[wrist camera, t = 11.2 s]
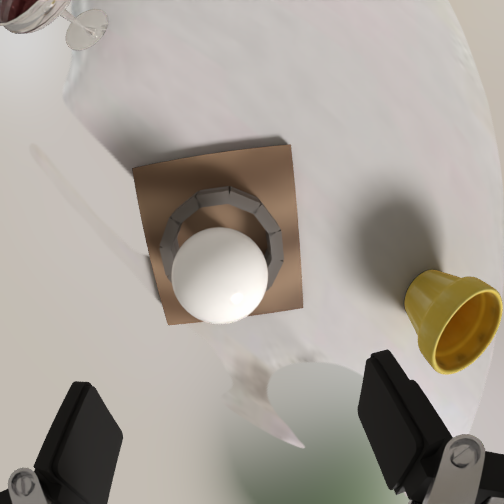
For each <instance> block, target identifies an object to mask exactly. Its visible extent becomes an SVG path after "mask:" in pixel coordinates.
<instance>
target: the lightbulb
mask: <svg viewBox="0 0 504 504" xmlns="http://www.w3.org/2000/svg"><path fill="white" fill-rule="evenodd" d="M171 280H172V286H173V290H174V293H175V295H176V298H177V299H178V301H179V303H180V304H181V305H182V307H183V308H184V309H185V310H186V311H187V312H188V313H189V314H191V315H192V316H194V317H195V318H197V319H199V320H201V321H204V322H207V323H211V324H229V323H233V322H236V321H239V320H241V319H243V318H245V317H246V316H248V315H249V314H250V313H252V312H253V311H254V310H255V309H256V307H257V306H258V305H259V304H260V302H261V300H262V299H263V297H264V294H265V292H266V288H267V284H268V268H267V263H266V260H265V257H264V255H263V253H262V251H261V250H260V248H259V247H258V245H257V244H256V243H255V242H254V241H253V240H252V239H251V238H249V237H248V236H247V235H245V234H243V233H242V232H240V231H237V230H234V229H231V228H225V227H214V228H208V229H205V230H202V231H200V232H197V233H196V234H194V235H192V236H191V237H190V238H188V239H187V240H186V241H185V242H184V243H183V244H182V246H181V247H180V248H179V250H178V252H177V254H176V256H175V258H174V261H173V265H172V271H171Z"/></svg>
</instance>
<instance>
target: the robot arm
mask: <svg viewBox="0 0 504 504" xmlns="http://www.w3.org/2000/svg"><path fill="white" fill-rule="evenodd" d="M358 416H359V418H360V421H361V423H362V425H363V428H364V430H365V432H366V435H367V437H368V440H369V442H370V444H371V447H372V449H373V451H374V454H375V456H376V459H377V461H378V464H379V466H380V469H381V471H382V474H383V476H384V479H385V481H386V484H387V486H388V488H389V489H390V490H393V489H394V491H395V493H396V495H397V494H400V493H402V492H405V491H406V493H407V496H408V498H409V499H410V501H409V503H408V504H504V454H498V453H492V452H487V451H485V448H484V445H483V444H482V442H481V441H480V440H479V439H478V438H476V437H475V436H472V435H469V434H462V435H458V436H456V437H454V438H453V437H452V436H451V434H450V433H449V431H448V429H447V428H446V426H445V425H444V423H443V421H442V420H441V418H440V417H439V415H438V414H437V412H436V411H435V409H434V407H433V406H432V404H431V403H430V401H429V400H428V398H427V397H426V395H425V394H424V392H423V391H422V389H421V388H420V386H419V385H418V384H417V383H416V381H414V380H409V378H408V377H407V375H406V374H405V372H404V371H403V369H402V368H401V366H400V365H399V363H398V362H397V361H396V359H395V358H394V356H393V355H392V353H391V352H390V351H389V350H384V351H380V352H376V353H372V354H371V357H370V358H369V359H367V360H366V365H365V372H364V378H363V383H362V389H361V395H360V400H359V405H358ZM122 440H123V434H122V431H121V429H120V428H119V426H118V425H117V423H116V422H115V420H114V419H113V417H112V415H111V414H110V412H109V410H108V409H107V407H106V405H105V404H104V402H103V400H102V399H101V397H100V395H99V394H98V392H97V390H96V388H95V387H93V386H92V385H91V384H90V383H89V382H77V381H76V382H73V383H72V385H71V387H70V389H69V391H68V393H67V395H66V397H65V399H64V401H63V403H62V405H61V407H60V409H59V411H58V413H57V415H56V417H55V419H54V421H53V423H52V425H51V428H50V430H49V432H48V434H47V436H46V439H45V441H44V443H43V445H42V448H41V450H40V452H39V455H38V457H37V459H36V462H35V464H34V468H35V471H34V472H33V471H32V470H31V469H28V468H20V469H17V470H16V471H14V472H13V473H12V474H11V476H10V478H9V481H8V489H7V490H4V491H2V492H0V504H107V502H108V497H109V492H110V489H111V484H112V480H113V476H114V471H115V468H116V463H117V459H118V456H119V452H120V447H121V444H122Z"/></svg>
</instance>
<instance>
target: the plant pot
mask: <svg viewBox="0 0 504 504" xmlns="http://www.w3.org/2000/svg"><path fill="white" fill-rule="evenodd" d="M404 305H405V310H406V312H407V315H408V317H409V319H410V321H411V323H412V325H413V327H414V329H415V331H416V333H417V335H418V346H419V349H420V351H421V353H422V354H423V356H424V357H425V359H426V360H427V361H428V363H429V364H430V365H431V366H432V367H433V369H434V370H435V371H437V372H438V373H440V374H453V373H456V372H459V371H461V370H463V369H464V368H466V367H468V366H469V365H470V364H472V363H473V362H474V361H475V360H476V359H477V358H478V357H479V356H480V355H481V354H482V353H483V352H484V351H485V349H486V348H487V347H488V345H489V344H490V343H491V341H492V339H493V337H494V336H495V334H496V332H497V329H498V327H499V324H500V321H501V316H502V299H501V296H500V294H499V293H498V291H497V290H496V289H494V288H493V287H491V286H490V285H488V284H487V283H485V282H483V281H481V280H480V279H478V278H475V277H463V278H460V277H457V276H453V275H450V274H447V273H444V272H441V271H437V270H427V271H425V272H423V273H421V274H420V275H419V276H417V277H416V278H415V279H414V281H413V282H412V283H411V285H410V286H409V288H408V290H407V293H406V296H405V302H404Z"/></svg>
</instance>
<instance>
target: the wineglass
mask: <svg viewBox="0 0 504 504" xmlns="http://www.w3.org/2000/svg"><path fill="white" fill-rule="evenodd" d="M70 1H71V0H0V26H4V27H5V28H6V29H7V30H9V31H10V32H12V33H32V32H35V31H37V30H40V29H42V28H44V27H45V26H47V25H49V24H50V23H51V22H52V21H54V20H55V19H56V18H57V17H58V16H59V15H60V16H62V17H63V18H65V19H67V20H69V21H70V22H72V23H71V24H70V26H69V28H68V30H67V33H66V43H67V45H68V47H70V48H71V49H73V50H84V49H87V48H89V47H91V46H92V45H94V44H95V43H96V42H98V41H99V39H100V38H101V37H102V36H103V35H104V33H105V31H106V29H107V25H108V18H107V15H106V14H105V12H103V11H101V10H98V9H92V10H88V11H86V12H84V13H82V14H80V15H79V16H78V17H76V18H75V17H74V16H73V15H72V14H70V13H69V12H68V11H67V10H66V7H67V6H68V5H69V3H70Z"/></svg>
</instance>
